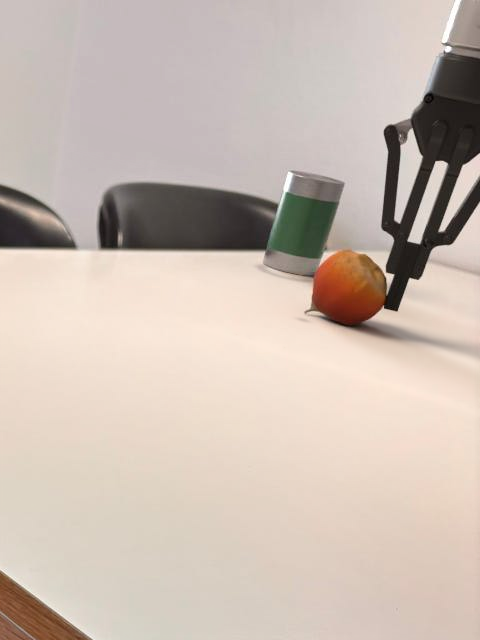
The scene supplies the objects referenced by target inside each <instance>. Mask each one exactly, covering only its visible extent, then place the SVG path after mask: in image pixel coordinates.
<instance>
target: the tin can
mask: <svg viewBox="0 0 480 640" xmlns="http://www.w3.org/2000/svg"><path fill="white" fill-rule="evenodd" d="M345 185H346V182H344V181H342V180H340V179H336V178H333V177H329V176H325V175H320V174H316V173H311V172H306V171H301V170H288V171H287V175H286V179H285V183H284V186H283V189H282V191H281V194H280V198H279V201H278V205H277V209H276V212H275V215H274V220H273V222H272V226H271V230H270V233H269V237H268V240H267V244H266V250H265V252H264V256H263V259H262V264H264V266H267V267H269V268H272V269H274V270H278V271H281V272H284V273H288V274H292V275H297V276H309V277H311V276H315V273H316V271H317V269H318V268H319V266H320V265H321V261H322V258H323V256H324V253H325V250H326V247H327V244H328V240H329V238H330V235H331V231H332V228H333V225H334V222H335V219H336V215H337V212H338V209H339V206H340V200H341V198H342V195H343V191H344V188H345Z"/></svg>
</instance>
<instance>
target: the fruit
mask: <svg viewBox="0 0 480 640" xmlns="http://www.w3.org/2000/svg"><path fill="white" fill-rule="evenodd" d="M313 276H314V277H313V282H312V283H313V284H312V294H311V303H310V308H309V309H307V310H305V311H304V312H303V313H304V314H305V315H306V314H307V313H311V312H317V313H321V314H322V315H324V316H325V317H327V318H329V319H330V320H332V321H334V322H337V323H339V324H342V325H345V326H349V327H351V326H356V325H359V324H361V323H364V322H366V321H368V320H371V319H372V318H373V317H375V316H376V315H377V314H378V313H379V312H381V310H382V309H383V308H384V304H385V303H386V299H387V294H388V283H387V277H386V275H385V273H384V271H383V270H382V268H381V266H379V265H378V264H377V263H376V262H374V260H373V259H372V258H371V257H370V256H369V255H367V254H366V253H358V252H356V251H355V250H352V249H348V248H347V249H342V250H338V251H336V252H335V253H333V254H331V255H330V256H329V257H327V258H326V259H325V260H323V262H322V263H320V264H319V268H318V269H317V271H316V273H315V275H313Z"/></svg>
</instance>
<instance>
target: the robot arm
mask: <svg viewBox="0 0 480 640" xmlns="http://www.w3.org/2000/svg"><path fill="white" fill-rule="evenodd" d="M440 43H441V45H442V46H444V47H445V49H444V50H443V52H440V53H439V54H438V56H437V55H436V56H435V58H434V62H433V64H432V68H431V71H430V73H429V77H428V80H427V83H426V86H425V89H424V92H423V95H422V98H421V99H420V102H419V103H418V105H417V106H416V107H415V108H414V109H413V110H412V112H411V113H410V117H408V118H405V119H403V120H401V121H398V122H396V123H389V124H386V126H385V127H384V129H383V137H384V142H385V146H386V149H387V160H386V169H385V179H384V180H385V182H384V191H383V202H382V211H381V212H382V213H381V221H380V222H381V224H380V227H381V230H382V231H383V232H386V233H387V234H388V235H390V236H391V237H392V239H393V243H392V246H391V249H390V252H389V254H388V257H387V260H386V263H385V273H386V274H390V275H393V277H392V280H391V282H390V286H389V288H388V290H387V299H386V303H385V304H384V306H383V310H388V311H393V312H396V313H398V311H399V309H400V306H401V303H402V300H403V297H404V294H405V292H406V289H407V287H408V283H409V281H410V279H412V280H416V281H419V280H420V279H421V278H422V277H423V275H424V272H425V269H426V266H427V264H428V261H429V258H430V255H431V253H432V251H433V249H435V248H436V247H441V246H451V245H453V244H454V243H455V241H457V238H458V236H459V235H460V233H462V231H463V229H464V227H465V226H466V225H467V223H468V221H469V220H470V218H471V216H472V215H473V214H474V212H475V210H476V209H477V207H478V206H479V205H480V174H479V176H478V177H477V178H476V180H475V182H474V183H473V185H472V186H471V188H470V189H469V191H468V193H467V195H466V196H465V198H464V199H463V201H462V202H461V204H460V205H459V207H458V209H456V211H455V213H454V215H453V216H452V218H451V219H450V221H449V223H448V224H447V226H446V227H445V229H444V230H442V231H441V230H440V229H441V226H442V223H443V220H444V218H445V215H446V213H447V210H448V207H449V203H450V202H451V199H452V195H453V193H454V190H455V188H456V186H457V185H456V184H457V182H458V178H459V177H460V175H461V171H462V170H463V169H462V168H463V166H464V165H467V164H468V163H470V162H471V161H472V160H473V159H475V158H476V157H477V156H478V155H480V0H454V2H453V4H452V7H451V11H450V14H449V17H448V19H447V23H446V26H445V28H444V32H443V35H442V37H441V41H440ZM411 130H412V132H413V135H414V138H415V141H416V145H417V148H418V149H417V150H418V152H419V154H420V155H421V160H420V163H419V166H418V169H417V172H416V174H415V175H416V176H415V178H414V181H413V184H412V187H411V190H410V193H409V195H408V198H407V201H406V205H405V208H404V210H403V213H402V216H401V218H400V222H399V221H397V220H395V217H396V208H397V207H396V206H397V205H396V204H397V198H398V197H397V196H398V186H399V175H400V167H401V166H400V164H401V155H402V154H401V153H402V148H401V147H402V145H405V144H406V142H408V134H409V132H410V131H411ZM436 162H443V163H445V164H446V167H445V169H444V174H443V177H442V179H441V182H440V185H439V187H438V191H437V194H436V196H435V199H434V202H433V205H432V208H431V211H430V213H429V217H428V219H427V222H426V225H425V228H424V230H423V233H422V235H421V239H420V242H419V243H416V242H412V241H408V240H409V238H410V235H411V232H412V230H413V227H414V224H415V221H416V218H417V216H418V213H419V210H420V207H421V204H422V201H423V198H424V195H425V193H426V189H427V186H428V184H429V181H430V178H431V176H432V172H433V170H434V169H435V168H434V167H435V165H436Z"/></svg>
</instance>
